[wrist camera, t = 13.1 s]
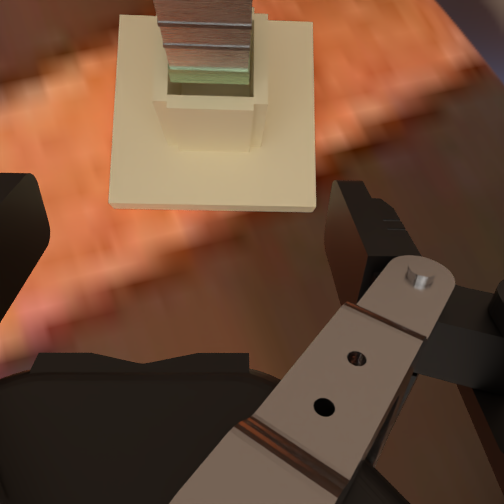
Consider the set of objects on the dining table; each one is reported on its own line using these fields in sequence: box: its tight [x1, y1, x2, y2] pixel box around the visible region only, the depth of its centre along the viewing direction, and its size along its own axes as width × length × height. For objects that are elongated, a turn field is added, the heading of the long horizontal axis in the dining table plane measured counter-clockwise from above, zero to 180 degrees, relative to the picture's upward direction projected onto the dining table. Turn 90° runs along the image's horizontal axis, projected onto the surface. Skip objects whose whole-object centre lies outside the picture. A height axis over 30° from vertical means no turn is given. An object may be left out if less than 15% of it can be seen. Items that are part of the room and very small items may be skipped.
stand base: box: [108, 7, 316, 212], centre depth 28 cm, size 14×14×8 cm
